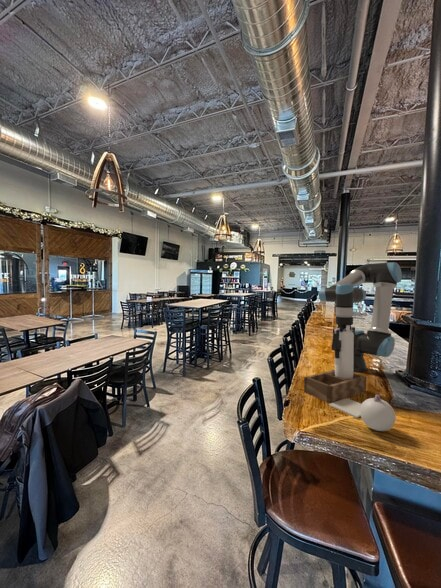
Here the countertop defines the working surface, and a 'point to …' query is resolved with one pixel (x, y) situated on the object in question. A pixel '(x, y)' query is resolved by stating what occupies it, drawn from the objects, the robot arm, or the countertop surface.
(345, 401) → the coaster
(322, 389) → the carrier
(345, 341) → the bottle
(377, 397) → the ornament
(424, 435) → the countertop surface
